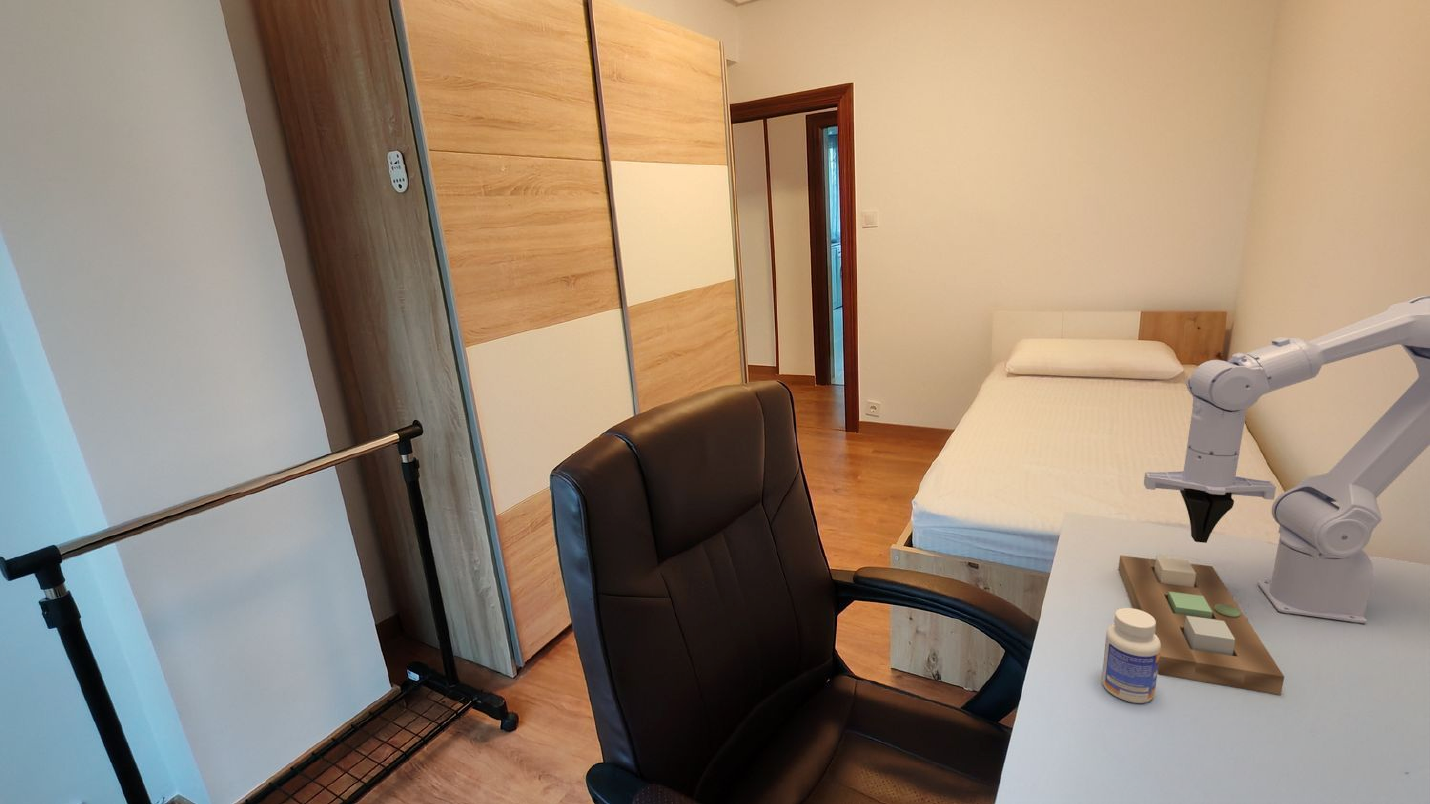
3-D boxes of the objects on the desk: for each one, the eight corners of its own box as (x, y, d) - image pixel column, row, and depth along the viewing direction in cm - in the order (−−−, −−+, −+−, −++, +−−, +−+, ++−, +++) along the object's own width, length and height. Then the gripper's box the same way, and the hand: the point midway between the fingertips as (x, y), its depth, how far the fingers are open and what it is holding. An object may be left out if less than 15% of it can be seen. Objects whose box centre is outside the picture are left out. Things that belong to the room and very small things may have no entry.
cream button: (1185, 578, 96) (1188, 560, 95) (1193, 592, 93) (1196, 573, 92) (1153, 574, 98) (1156, 556, 97) (1160, 587, 94) (1162, 569, 93)
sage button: (1200, 615, 89) (1203, 596, 89) (1209, 632, 86) (1212, 612, 85) (1166, 610, 91) (1168, 591, 90) (1173, 626, 87) (1176, 607, 87)
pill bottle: (1162, 707, 74) (1173, 633, 71) (1110, 702, 75) (1119, 629, 72) (1142, 675, 79) (1152, 605, 76) (1093, 671, 80) (1102, 602, 78)
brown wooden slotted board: (1209, 581, 98) (1212, 564, 97) (1280, 695, 75) (1284, 674, 74) (1118, 569, 102) (1120, 553, 102) (1158, 674, 79) (1161, 654, 78)
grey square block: (1220, 641, 82) (1224, 621, 81) (1231, 661, 78) (1235, 639, 78) (1183, 636, 83) (1186, 615, 83) (1191, 654, 80) (1195, 633, 79)
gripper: (1157, 454, 87) (1145, 545, 91) (1292, 463, 82) (1273, 559, 85) (1145, 438, 93) (1134, 523, 97) (1270, 445, 88) (1253, 535, 92)
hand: (1198, 539), depth 92 cm, fingers closed
